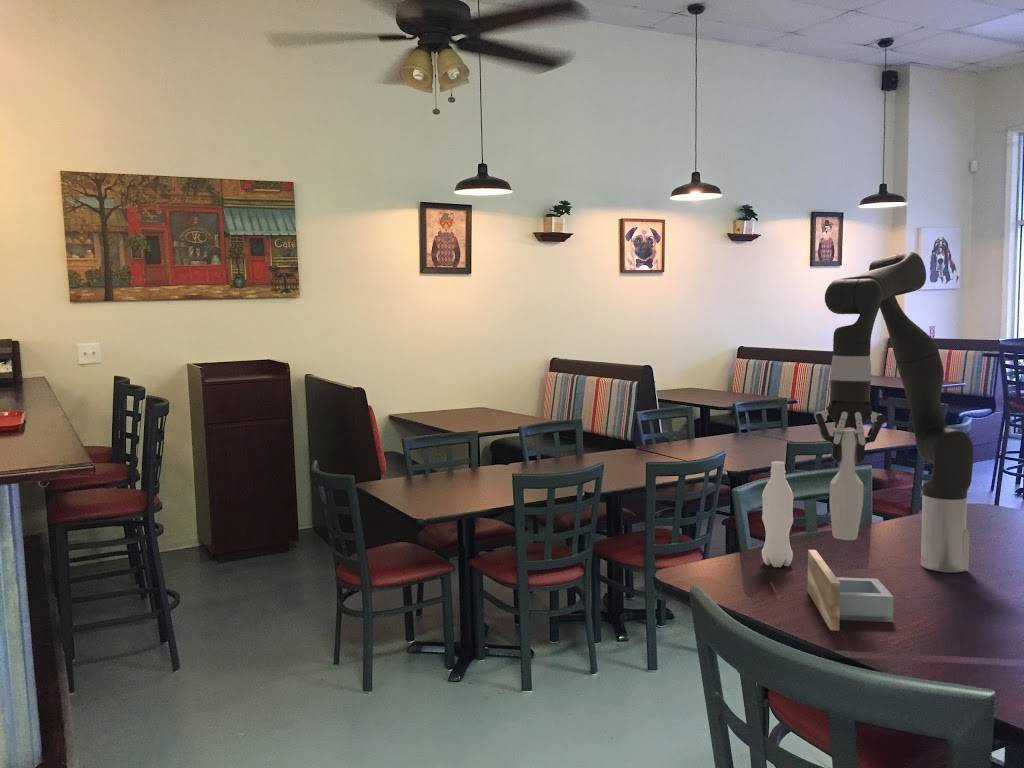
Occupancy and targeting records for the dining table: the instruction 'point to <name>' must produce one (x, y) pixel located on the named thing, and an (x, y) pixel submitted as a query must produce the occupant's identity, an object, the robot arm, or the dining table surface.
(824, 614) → the tan wooden board
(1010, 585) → the dining table surface
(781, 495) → the water bottle
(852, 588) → the holder
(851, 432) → the low poly bottle
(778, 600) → the dining table surface
